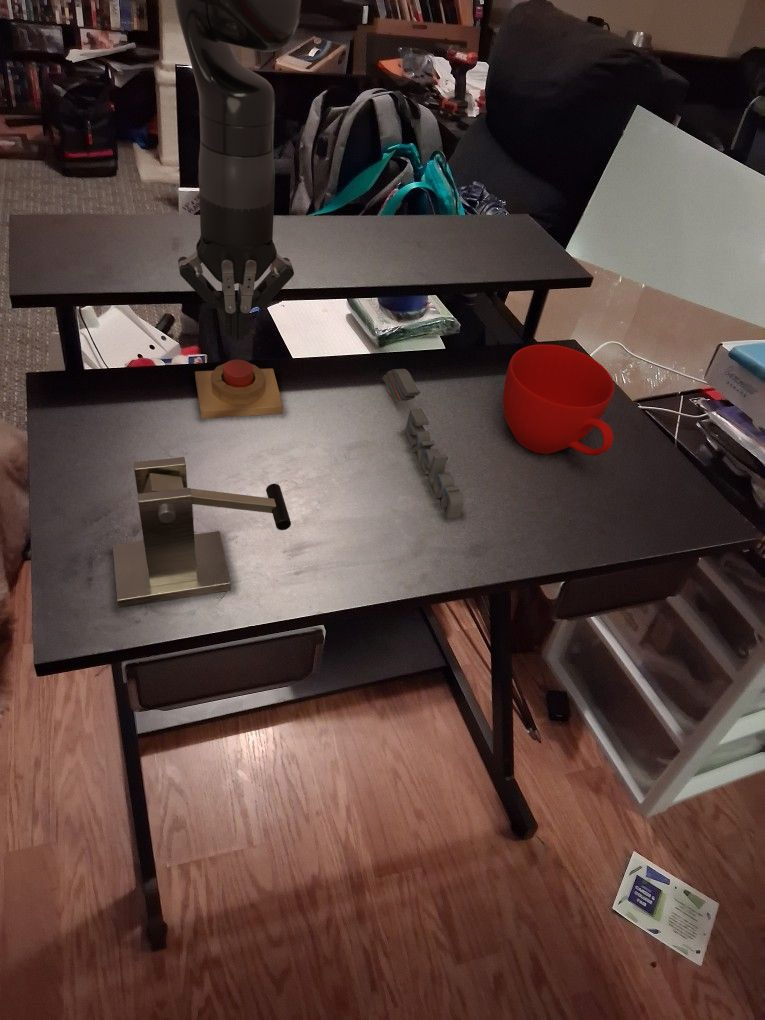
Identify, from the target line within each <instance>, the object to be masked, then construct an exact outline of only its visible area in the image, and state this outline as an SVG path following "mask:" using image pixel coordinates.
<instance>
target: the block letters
mask: <svg viewBox="0 0 765 1020" xmlns="http://www.w3.org/2000/svg"><path fill="white" fill-rule="evenodd" d="M381 380H383V382H384V383H385V386H386V387H387V390H388V391H389V395H390V396H391V398H392V399H393V400H394V401H396V402H405V401H410V400H413V399H415V398H416V396H419V395H420V394H421V390H419V387H418V386H417V384H416V383H415V381H414V378H413V377H412V375H411V373H410V372H409V371H408V369H406V368H395V369H391V370H388V371H387V372H386V373H385V374H384V375H383V376H382V377H381ZM429 422H430V421H429V419H428V417H427V416H426V414H425V412H424V410H423V408H411V409H409V412H408V417H407V421H406V426H405V431H404V435H405V437H406V439H407V441H408V443H409V445H410V447H411V449H412V451H413V453H414V454H415V453H416V460H417V461H418V463H419V464H420V466H421V470H422V471H423V473H424V474H425V475H428V477H427V478H428V480H427V481H428V483H429V485H430V487H432V490H433V494H434V496H435V498H436V499H440V503H439V506H440V508H441V509H446V511H445V515H444V517H446V520H450V519H456V518H457V519H458V518H460V517H461V514H462V511H463V508H464V504H465V500H464V496H463V493H462V492H461V491H460V488H459V486H458V485H455V479H454V476H453V474H452V472H445V470H446V466H447V461H448V458H449V456H448V454H447V453H441V452H440V450H439V448H432V447H433V446H435V445H436V442H435V441H434V439H431V433H430V431H429V430H426V429H425V427H424V426H428V425H429ZM444 472H445V473H444Z"/></svg>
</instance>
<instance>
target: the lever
mask: <svg viewBox="0 0 765 1020" xmlns="http://www.w3.org/2000/svg"><path fill="white" fill-rule="evenodd" d="M189 488H190V489H191V494H192V505H195V506H205V507H212V508H222V509H230V510H239V511H241V510H242V511H249V512H256V513H265V514H266V513H267V514H272V518H273V520H274V525H275V527H276V529H277V530H278V531H286V530H288V529H289V528H290V527H291V525H292V521H291V518H290V515H289V511H288V508H287V505H286V501H285V498H284V494H283V491H282V488H281V486H280V485H279V484H278V483H271V484H269V485H267V486H266V488H265V492H266V497H263V496H256V495H247V494H239V493H232V492H224V491H215V490H206V489H197V488H191V487H189ZM175 489H184V488H183V483H182V478H181V477H177V476H169V475H162V474H154V473H150V474H149V477H148V480H147V483H146V486H145V488H144V491H143V493H149V492H158V491H167V490H175Z"/></svg>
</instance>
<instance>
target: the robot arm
mask: <svg viewBox="0 0 765 1020" xmlns="http://www.w3.org/2000/svg"><path fill="white" fill-rule="evenodd" d="M174 4H175V10H176V14H177V18H178V22H179V26H180V30H181V33H182V36H183V39H184V40H183V41H184V43H185V46H186V50H187V53H188V57H189V61H190V66H191V69H192V74H193V78H194V81H195V85H196V90H197V93H198V102H199V103H198V112H199V114H198V115H199V139H200V141H199V153H198V174H197V182H198V193H199V195H198V196H199V198H198V199H199V224H200V236H199V239H198V241H197V243H196V246H195V249H196V251H195V252H194V253H192V254H190V255H189V256H188V257H187V256H180V257H179V258H178V259H177V264H178V270H179V276H181V278H182V279H183V280H184V281H185V282H186V283H187V284H188V285H189V286H190V287H191V288H192V289H193V290H194V291H195V293H196V294H197V295H198V296H199V297H200V298H201V299H202V301H204V302H205V303H206V305H207V306H209V308H210V309H215V310H216V309H221V310H222V312H223V314H222V316H223V318H222V319H223V320H222V321H223V329H224V333H225V335H226V336H229V337H230V340H231V341H243V340H245V336H249V333H250V326H251V325H250V324H251V323H250V320H251V319H250V318H251V317H250V315H251V312H252V310H254V309H256V308H259V309H264V308H266V307H267V306H268V304H269V303H270V302H271V301H272V300H273V299H274V298H275V297H276V296H277V294H278V293H279V292H280V291H281V290H282V289H283V288H284V287H285V286H286V284H288V282H290V281H291V279H292V278H293V277H294V275H295V270H294V266H293V264H292V262H291V260H290V258H289V257H283V256H281V255H280V254H279V253H278V251H277V248H276V245H275V242H274V240H273V235H274V216H275V215H274V214H275V213H274V212H275V211H274V210H275V188H276V163H275V153H274V152H275V151H274V145H275V144H274V143H275V117H276V94H275V90H274V88H273V85H272V84H271V83H270V82H269V81H268V80H267V79H266V78H265V77H262V76H261V75H260V74H258V73H256V72H255V71H253V70H251V69H250V68H248V67H246V66H245V65H243V64H242V63H241V62H240V61H239V60H238V59H237V57H236V55H235V53H234V51H233V49H232V48H233V47H232V46H231V45H233V46H237V47H240V48H244V49H249V50H253V51H256V52H263V53H272V52H276V51H279V50H281V49H283V48H284V47H286V45H288V44H289V43H290V41H291V40H292V38H293V37H294V36H295V34H296V33H297V30H298V27H299V25H300V19H301V13H302V0H174ZM202 264H203V266H204V267H205V268H206V269H207V270H208V272H209V273H210V274H211V275H212V276H213V277H214V279H215V280H216V281H218V282H219V283H220V285H221V292H220V291H218V290H217V289H216V287H214V285H213V284H212V283H211V282H210V281H209V280H208V279H207V278H206V277H205V276H204V274H203V273H204V271H203V266H202ZM268 269H269V272H268V273H267V274H266V276H265V277H264V278H263V279H262V280H261V281H260V283H259V284H258V285H257V286H256V287H255V283H256V282H258V281H259V280H260V279H261V277H262V276H263V275H264V274H265V272H266V271H267V270H268ZM236 284H238V287H237V288H238V289H237V303H236V288H235V286H236Z"/></svg>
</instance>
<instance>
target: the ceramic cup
mask: <svg viewBox="0 0 765 1020" xmlns="http://www.w3.org/2000/svg"><path fill="white" fill-rule="evenodd" d="M614 392H615V383H614V380H613V377H612V376H611V374H610V372H609V371H608V370H607V368H605V367H604V366H603V365H602V364H601V363H600V362H598V361H597V360H596V359H594V358H592V357H591V356H589V355H587V354H586V353H584V352H581V351H579V350H576V349H573V348H570V347H567V346H562V345H558V344H551V343H550V344H548V343H547V344H546V343H539V344H532V345H527V346H525V347H522V348H520V349H518V350H517V351H516V352H514V354H513V355H512V357H511V359H510V360H509V363H508V366H507V369H506V373H505V379H504V385H503V393H502V408H503V414H504V418H505V421H506V424H507V426H508V428H509V429H510V431H511V433H512V434H513V436H514V438H515V440H516V441H517V442H518V443H519V444H520V445H521V446H522V447H524V448H525V449H527V450H529V451H531V452H534V453H539V454H552V453H557V452H558V451H562V450H565V449H567V448H572V449H573V450H575V451H577V452H580V453H581V454H584V455H587V456H598V455H602V454H604V453H606V452H607V451H608V450H610V449H611V447H612V445H613V443H614V433H613V430H612V428H611V427H610V425H609V424H607V423H606V422H605V421H604V420H602V419H601V418H602V416H603V414H604V413H605V411H606V410H607V407H608V406H609V404H610V402H611V400H612V398H613V396H614ZM594 428H597V429H598V430H599V431H600V433H601V434H602V443H601V446H600V447H599V448H592V447H591V446H590V447H589V446H588V445H585V444H584V443H581V442H580V441H581V440H583V439H584V438H585V437H586V436H587V435H588V434H590V433H591V431H592V430H593V429H594Z"/></svg>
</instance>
